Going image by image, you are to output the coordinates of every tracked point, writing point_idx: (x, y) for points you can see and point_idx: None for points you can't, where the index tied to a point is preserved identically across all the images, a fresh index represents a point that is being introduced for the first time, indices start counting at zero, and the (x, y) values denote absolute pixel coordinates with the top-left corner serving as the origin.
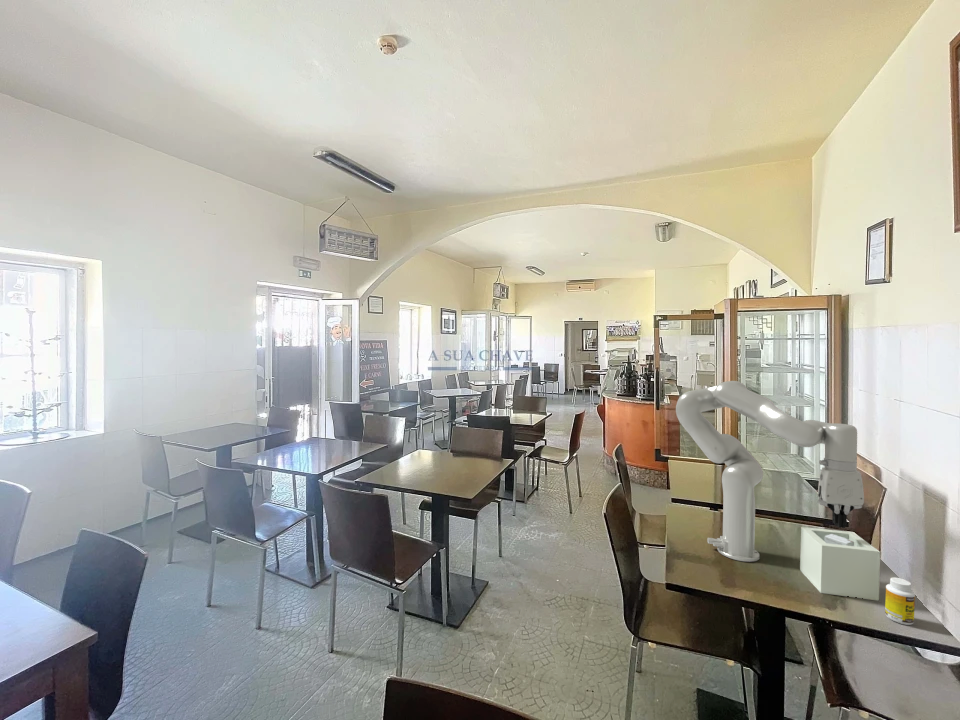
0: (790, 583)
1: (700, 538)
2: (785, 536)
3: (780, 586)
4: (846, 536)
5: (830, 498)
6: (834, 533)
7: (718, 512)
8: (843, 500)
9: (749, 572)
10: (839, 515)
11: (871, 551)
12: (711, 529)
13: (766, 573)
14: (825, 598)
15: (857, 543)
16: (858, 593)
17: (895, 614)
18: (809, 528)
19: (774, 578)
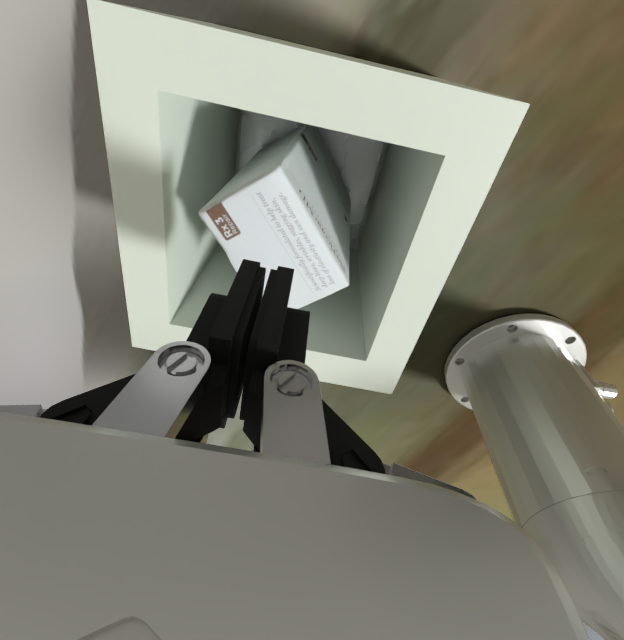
0: (504, 159)
1: None
2: None
3: (578, 126)
4: (187, 315)
5: (494, 625)
6: None
7: None
8: (194, 549)
9: (600, 239)
10: (277, 339)
11: (157, 15)
12: (458, 479)
13: (533, 236)
14: (457, 18)
15: (173, 225)
16: (291, 42)
17: None
18: (359, 378)
19: (537, 198)
